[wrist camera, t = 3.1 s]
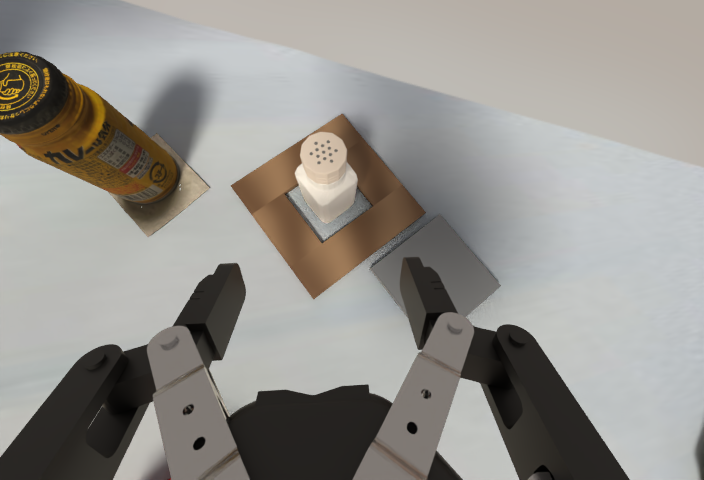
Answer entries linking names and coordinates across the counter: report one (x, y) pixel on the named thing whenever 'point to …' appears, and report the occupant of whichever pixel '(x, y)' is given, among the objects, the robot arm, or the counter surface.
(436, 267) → the coaster
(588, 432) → the robot arm
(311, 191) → the salt shaker
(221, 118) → the counter surface
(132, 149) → the condiment
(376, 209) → the square wooden frame
